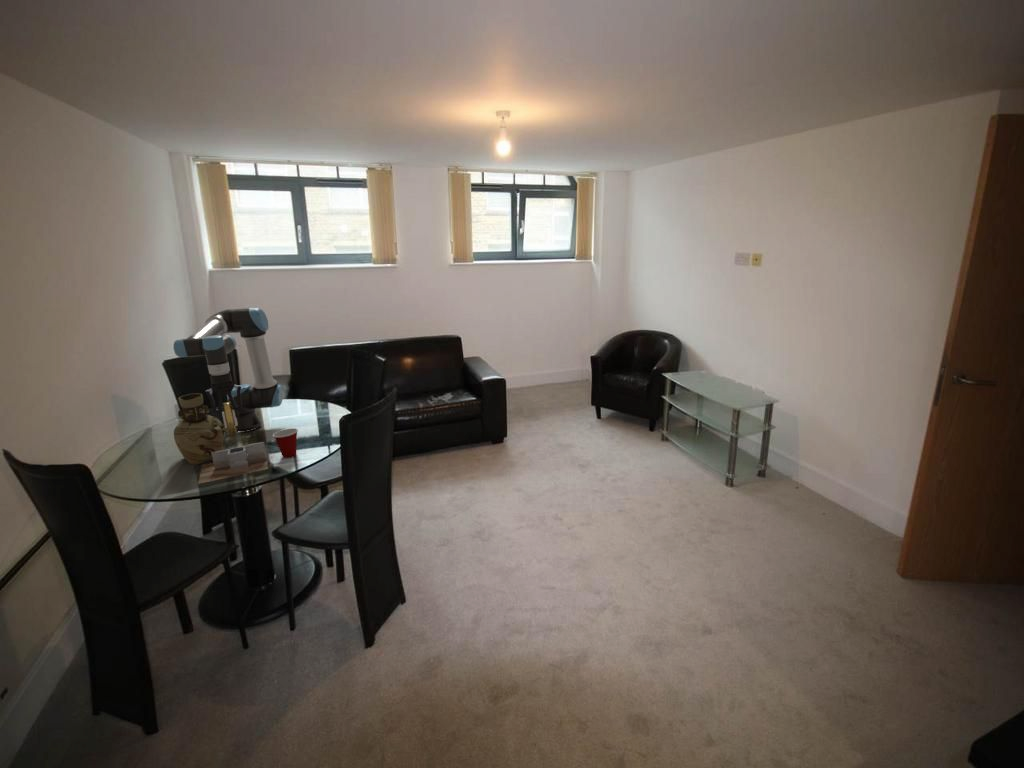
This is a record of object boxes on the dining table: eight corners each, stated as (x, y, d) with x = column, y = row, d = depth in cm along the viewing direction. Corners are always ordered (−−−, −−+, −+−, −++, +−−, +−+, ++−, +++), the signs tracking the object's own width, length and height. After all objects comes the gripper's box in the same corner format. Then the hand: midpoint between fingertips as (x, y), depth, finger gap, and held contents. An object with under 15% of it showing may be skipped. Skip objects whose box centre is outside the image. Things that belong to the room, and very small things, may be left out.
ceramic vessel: (226, 462, 221) (212, 400, 213) (174, 469, 216) (157, 406, 207) (237, 446, 239) (224, 388, 230) (188, 452, 234) (174, 393, 225)
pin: (229, 433, 210) (222, 403, 206) (237, 432, 212) (231, 401, 208) (228, 436, 208) (222, 405, 204) (237, 434, 209) (230, 403, 205)
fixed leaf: (231, 465, 216) (228, 448, 213) (267, 458, 222) (263, 441, 219) (231, 471, 210) (227, 454, 208) (267, 463, 216) (264, 446, 214)
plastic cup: (292, 449, 234) (288, 425, 230) (306, 453, 228) (302, 429, 225) (271, 457, 225) (266, 433, 222) (285, 462, 219) (281, 437, 216)
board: (202, 467, 217) (202, 465, 217) (267, 454, 229) (266, 452, 228) (198, 486, 200) (198, 483, 200) (268, 471, 211) (268, 468, 211)
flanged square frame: (215, 468, 213) (211, 452, 210) (248, 461, 218) (245, 445, 216) (214, 474, 207) (210, 457, 205) (248, 467, 213) (245, 451, 210)
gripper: (196, 378, 195) (208, 432, 202) (242, 372, 202) (252, 424, 209) (198, 374, 201) (210, 426, 208) (242, 368, 209) (252, 419, 215)
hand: (231, 425), depth 209 cm, fingers closed on pin, 3 cm apart
